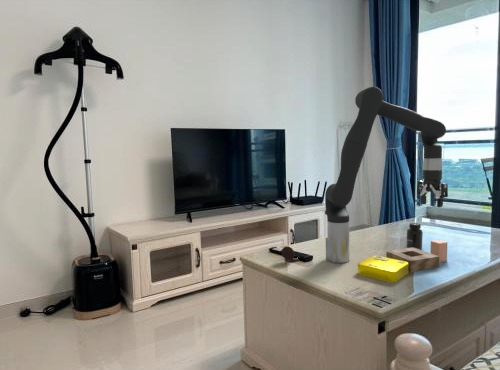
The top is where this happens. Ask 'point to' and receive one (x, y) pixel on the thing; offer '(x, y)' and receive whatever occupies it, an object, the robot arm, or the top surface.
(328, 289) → the top surface
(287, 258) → the compass
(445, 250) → the terracotta peg
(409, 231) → the supplement bottle
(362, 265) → the element tile
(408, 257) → the walnut base
